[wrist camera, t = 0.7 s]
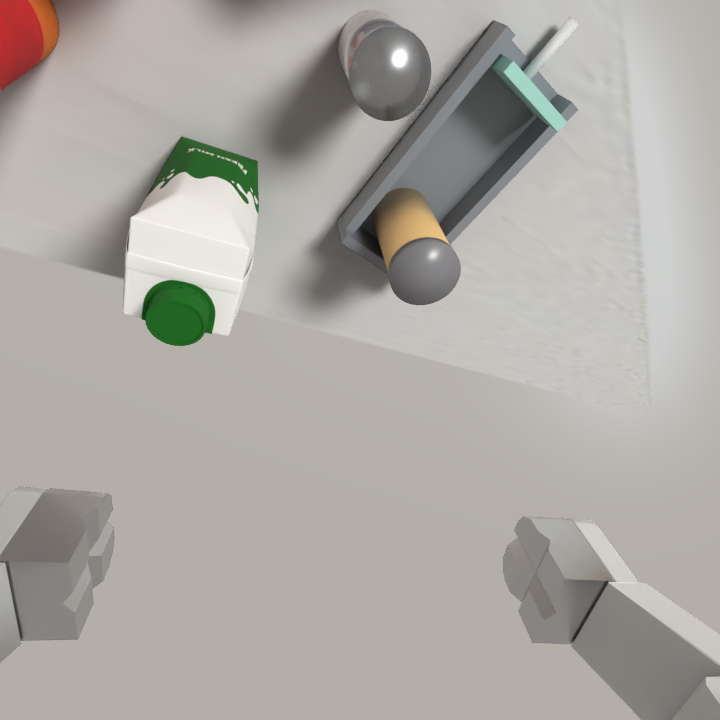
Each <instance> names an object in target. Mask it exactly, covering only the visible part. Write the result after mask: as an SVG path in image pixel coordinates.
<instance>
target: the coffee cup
mask: <svg viewBox="0 0 720 720" xmlns="http://www.w3.org/2000/svg"><path fill="white" fill-rule="evenodd" d="M58 37H59V23H58V18H57V15H56V12H55V9H54V7H53V5H52V3H51V1H50V0H0V91H1V90H3V89H4V88H5V87H7V86H8V85H10V84H11V83H12V82H14V81H15V80H16V79H18V78H19V77H20V76H22V75H23V74H25V73H26V72H27V71H29V70H30V69H31V68H33V67H34V66H35V65H36V64H38V63H39V62H40V61H42V60H43V59H44V58H45V57H46V56H48V55H49V54H50V53H51V51H52V50H53V49H54V47H55V46H56V44H57V41H58Z"/></svg>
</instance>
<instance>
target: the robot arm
mask: <svg viewBox="0 0 720 720" xmlns="http://www.w3.org/2000/svg"><path fill="white" fill-rule="evenodd" d="M112 510H113V507H112V497H111V495H110V494H108V493H102V492H89V491H76V490H63V489H51V488H50V489H42V488H31V487H17V488H16V489H14V490H12V491H11V492H10V493H9V494H8V495H7V497H6V498H5V499H4V500H3V502H2V503H1V504H0V663H1V661H3V660H4V659H5V658H6V657H7V656H8V655H9V654H10V653H12V652H13V651H14V650H15V649H16V648H17V647H18V646H19V645H20V644H21V641H25V640H26V641H27V640H28V641H29V640H77V639H78V638H79V635H80V633H81V631H82V629H83V626H84V624H85V622H86V620H87V617H88V615H89V612H90V610H91V608H92V606H93V592H92V589H93V588H94V587H95V586H97V585H98V584H100V583H101V582H102V581H103V580H104V577H105V575H106V572H107V570H108V568H109V564H110V560H111V556H112V553H113V546H114V527H113V526H112V525H111V524H110V523H109V522H108V521H107V520H108V518H109V516H110V514H111V512H112ZM515 532H516V535H517V537H518V538H517V539H515V540H514V541H513V542H511V543H510V544H509V545H508V546H507V548H506V551H505V554H504V557H503V572H504V577H505V581H506V584H507V586H508V588H509V591H510V592H511V593H512V594H513V595H514V596H516V597H517V599H519V600H520V601H521V604H520V608H519V613H520V616H521V618H522V620H523V623H524V625H525V627H526V629H527V631H528V634H529V636H530V638H531V641H532V643H554V644H555V643H556V644H572V648H573V649H574V650H575V651H576V652H577V653H578V654H579V655H580V656H581V657H582V658H583V659H584V660H585V661H586V662H587V663H588V664H589V665H590V666H591V667H592V668H593V670H594V671H595V672H596V673H597V674H598V675H599V676H600V677H601V678H602V679H603V680H604V681H605V682H606V683H607V684H608V685H609V686H610V687H611V688H612V689H613V691H614V692H615V693H616V694H617V695H618V696H619V697H620V698H621V699H622V700H623V701H624V702H625V703H626V704H627V705H628V706H629V707H630V708H631V709H632V710H633V711H634V712H635V713H636V715H637V716H638V717H639V718H640V719H641V720H720V635H719V634H718V633H716V632H715V631H713V630H712V629H710V628H709V627H708V626H706V625H705V624H703V623H702V622H700V621H699V620H698V619H696V618H695V617H693V616H691V615H690V614H689V613H687V612H686V611H685V610H683V609H682V608H680V607H679V606H677V605H676V604H675V603H673V602H672V601H670V600H669V599H667V598H666V597H665V596H663V595H662V594H660V593H659V592H657V591H656V590H655V589H653V588H651V587H650V586H649V585H647V584H646V583H638V581H637V580H636V578H635V577H634V576H633V574H632V573H631V572H630V570H629V569H628V567H627V566H626V565H625V563H624V562H623V561H622V559H621V558H620V556H619V555H618V554H617V552H616V551H615V550H614V548H613V547H612V545H611V544H610V543H609V541H608V540H607V539H606V537H605V536H604V534H603V533H602V532H601V530H600V529H599V528H598V526H597V525H596V524H595V523H594V522H592V521H591V520H590V519H571V518H570V519H569V518H567V519H564V518H546V517H545V518H544V517H522V518H521V519H520V520H519V521H518V523H517V525H516V527H515Z"/></svg>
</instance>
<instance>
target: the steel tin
mask: <svg viewBox="0 0 720 720" xmlns="http://www.w3.org/2000/svg"><path fill="white" fill-rule="evenodd" d="M338 51H339V58H340V62H341V64H342V67H343V69H344V71H345V74H346V76H347V78H348V81H349V83H350V88H351V91H352V94H353V96H354V99H355V101H356V102H357V104H358V105H359V107H360V108H361V109H362V110H363V111H364V112H365V113H366V114H368V115H369V116H371V117H373V118H375V119H378V120H383V121H393V120H398V119H401V118H403V117H405V116H407V115H409V114H410V113H411V112H413V111H414V110H415V109H416V108H417V107H418V106H419V105H420V103H421V102H422V100H423V99H424V97H425V95H426V93H427V90H428V88H429V84H430V79H431V63H430V58H429V55H428V52H427V50H426V47H425V46H424V44H423V43H422V41H421V40H420V39H419V38H418V37H417V36H416V35H415V34H414V33H412V32H411V31H409V30H407V29H405V28H403V27H402V26H400V25H399V24H398V23H396V22H395V21H394V20H393V19H391V18H390V17H389V16H387V15H386V14H384V13H382V12H380V11H377V10H365V11H361V12H359V13H357V14H355V15H354V16H353V17H351V18H350V19H349V21H348V22H347V23H346V24H345V26H344V28H343V30H342V32H341V35H340V38H339V46H338Z"/></svg>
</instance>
